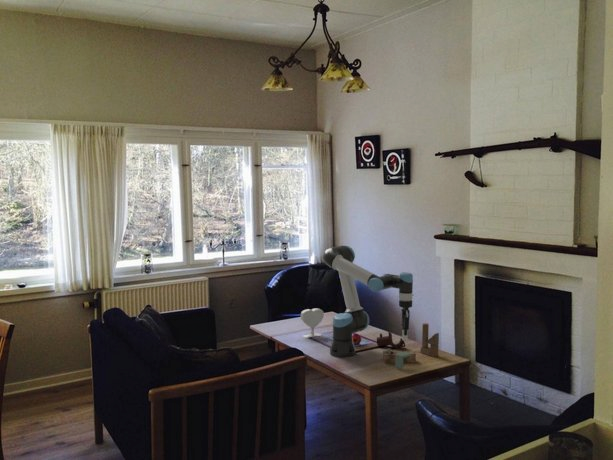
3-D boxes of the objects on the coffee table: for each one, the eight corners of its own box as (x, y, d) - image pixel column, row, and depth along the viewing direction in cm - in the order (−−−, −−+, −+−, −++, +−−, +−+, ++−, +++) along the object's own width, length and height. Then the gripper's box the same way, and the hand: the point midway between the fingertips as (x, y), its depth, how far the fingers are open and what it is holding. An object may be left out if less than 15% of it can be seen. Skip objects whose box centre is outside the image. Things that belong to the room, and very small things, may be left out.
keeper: (395, 367, 301) (395, 354, 300) (405, 364, 305) (405, 351, 304) (400, 369, 297) (401, 356, 297) (410, 366, 302) (410, 353, 301)
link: (384, 363, 308) (384, 354, 307) (382, 359, 315) (383, 350, 314) (416, 363, 308) (416, 354, 307) (413, 359, 315) (413, 350, 314)
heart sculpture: (320, 333, 368) (320, 307, 366) (324, 335, 363) (324, 308, 362) (300, 336, 361) (300, 309, 360) (303, 338, 357) (303, 311, 355)
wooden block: (434, 357, 318) (435, 327, 316) (420, 352, 326) (420, 323, 325) (438, 356, 320) (439, 326, 319) (424, 351, 329) (424, 322, 327)
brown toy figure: (404, 346, 330) (402, 330, 334) (377, 349, 335) (375, 333, 339) (406, 347, 336) (404, 331, 339) (379, 350, 341) (377, 334, 344)
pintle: (387, 361, 310) (387, 349, 310) (387, 360, 312) (387, 348, 312) (391, 361, 310) (391, 349, 310) (390, 360, 312) (390, 348, 312)
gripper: (414, 302, 301) (413, 343, 304) (410, 297, 315) (409, 336, 317) (401, 302, 301) (400, 343, 304) (397, 297, 315) (396, 336, 317)
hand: (404, 340), depth 310 cm, fingers closed
